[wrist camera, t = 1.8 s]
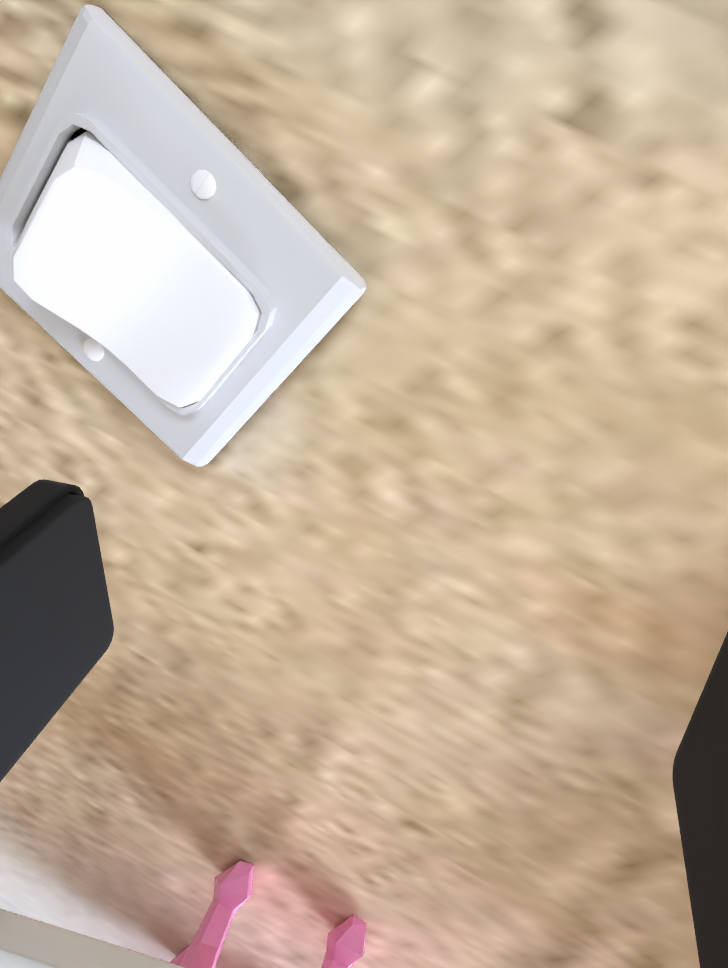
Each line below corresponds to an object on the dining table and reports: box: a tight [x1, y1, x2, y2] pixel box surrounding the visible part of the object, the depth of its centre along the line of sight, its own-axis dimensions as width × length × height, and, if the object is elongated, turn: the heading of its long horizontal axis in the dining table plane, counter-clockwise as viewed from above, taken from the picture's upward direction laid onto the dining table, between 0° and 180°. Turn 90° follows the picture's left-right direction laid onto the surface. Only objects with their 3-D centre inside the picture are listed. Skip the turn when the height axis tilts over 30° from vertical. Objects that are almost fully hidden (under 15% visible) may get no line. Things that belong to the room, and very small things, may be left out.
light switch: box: [0, 4, 367, 467], centre depth 25 cm, size 11×4×13 cm
